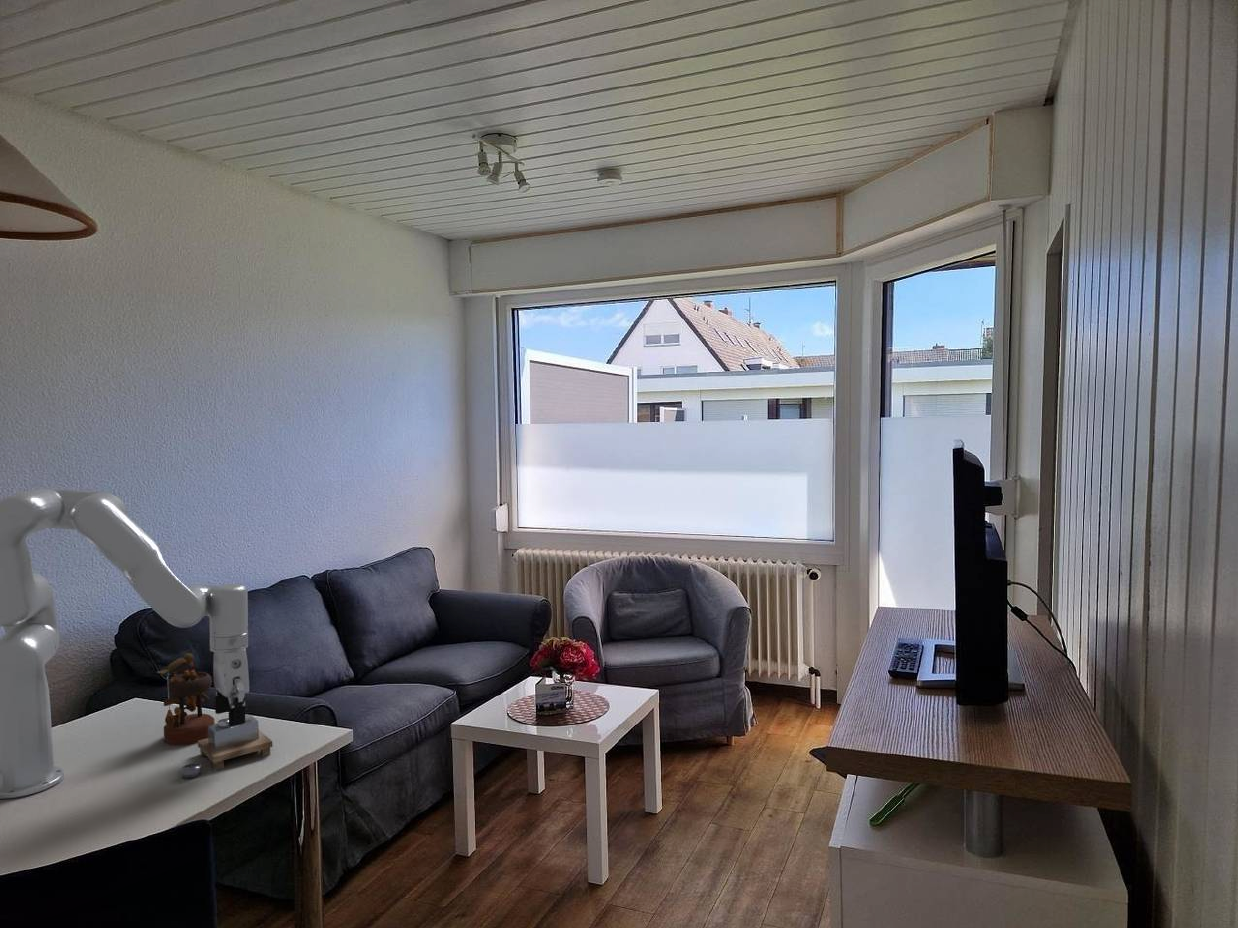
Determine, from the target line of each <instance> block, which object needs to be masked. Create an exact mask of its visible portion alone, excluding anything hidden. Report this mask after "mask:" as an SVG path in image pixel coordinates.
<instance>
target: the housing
mask: <svg viewBox="0 0 1238 928" xmlns="http://www.w3.org/2000/svg"><path fill="white" fill-rule="evenodd" d="M259 726H260V725H259V720H258V719H256V718H255V717H254V716H253V715H251V714H248V713H247V714H245V723H244V724H241V725H236V726H232V727H230V726H229V717H227V718H222V719H220V720H218V721H217V723H214V724H213V725H209V726H208V744H209V745H210V746H211V747H212V748H213V749H214V750H219V749H223V748H226V747H230V746H234V745H237V744H241V743H245V742H249V741H252V740H256V739H259V731H260V728H259Z"/></svg>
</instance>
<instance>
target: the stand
mask: <svg viewBox="0 0 1238 928" xmlns="http://www.w3.org/2000/svg"><path fill="white" fill-rule="evenodd" d="M197 747H198V749H199V750H200V755H201V756H202V757H207V758H208V759H209V761H211V763H212V768H213V770H215V771H217V770H220V769H224V767H225V766H224V761H226V760H229V759H233V758H236V757H240V756H243V755H247V754H251V753H255V752H258V751H259V753H260V756H262V757H266V756H271V748H272V747H273V740H272V739H270V738H269V737H268V736H266V735H265V733H263V732H262V731H261V730H259V739H256V740H252V741H249V742H245V743H241V744H237V745H234V746H230V747H226V748H223V749H219V750H214V749H213V748H212V747H211V746H210V745H209V744H208V738H207V739H203V740H199V741H198V742H197Z"/></svg>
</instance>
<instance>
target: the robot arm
mask: <svg viewBox="0 0 1238 928" xmlns="http://www.w3.org/2000/svg"><path fill="white" fill-rule="evenodd" d="M46 529H57V530H58V529H59V530H73V531H74V530H76V531H77V533H78V534H79V535H81V536H82V537H83V538H84V539H85V540H86V541H87V542H88V543H89V544H91V546H92V547H94V548H95V549H96V550H97V551H98V552H100V554H102V555H103V556H104V558H106V559H107V560H108V561H109V562H110V563H112V564H113V566H115V567H116V568H117V569H118V570H119V571H120V572H121V573H122V574H123V576H124V579H126V581H127V582H128V583H129V585H130V586H131V587H132V588H133V590H134V592H135V593H137V595H138V596H139V597H140V598H141V600H142V601H143V602H144V603H146V604H147V605H148V606H149V607H150V608H151V609H152V610H153V611H154V612H155V613H157V614H158V615H159V616H160V617H161V618H162V619H163V620H165V621H166V622H167V623H168V624H170V625H172V626H174V627H177V628H181V629H185V628H191V627H193V626H195V625H196V624H198V623H199V622H200V621H201V620H202V619H203V618H204V617H206V616H208V617H209V651H210V652H212V653H213V663H212V664H213V666H212V670H213V671H212V673H213V675H212V676H213V679H212V680H213V686H214V688H215V690H214V707H215V708H214V710H215V712H214V713H215V714H216V715H221V714H225V713H228V718H229V726H230V727H232V726H236V725H241V724H244V723H245V715H246V697H245V695H247V694H249V692H250V678H249V665H248V663H249V662H248V656H247V650H246V649H247V648H248V647H249V618H248V617H249V615H248V614H249V612H248V611H249V610H248V609H249V608H248V607H249V603H248V601H249V600H248V598H249V595H248V589H247V587H246V586H245V585H243V584H241V583H240V584H239V583H225V584H218V585H216V584H215V585H212V584H200V583H190V584H189V583H188V584H184V583H183V582H182V581H181V580H180V579H179V578H178V577H177V576H176V575H175V574H174V573H173V572H172V570H171V569H170V568H169V567H168V565H167V564H166V561H165V559H164V557H163V555H162V551H161V549H160V547H159V545H158V543H157V542H156V541H155V540H154V539H153V538H152V537H151V536H150V535H148V533H146V532H145V531H144V530H143V529H142V528H141V526H139V525H138V524H137V523H136V522H135V521H134V520H132V519H131V518H130V517H129V516H128V515H127V508H126V505H125V503H124V501H123V500H122V499H121V498H120V497H118V496H117V495H116V494H112V493H109V492H100V491H99V492H97V491H85V490H71V489H70V490H69V489H61V488H59V489H58V488H45V487H44V488H43V487H42V488H41V487H40V488H33V489H29V490H24V491H18V492H15V493H13V494H10V495H7V496H5V497H3V498H2V499H0V627H1V628H2V627H3V629H4V635H2V636H1V637H0V799H5V800H6V799H13V798H20V797H25V796H29V795H33V794H37V793H39V792H42V791H45V790H47V789H49V788H52V787H53V786H55V785H57V784H59V783H60V782H61V781H62V780H63V779H64V769H63V768H61V767H58V766H55V765H54V762H55V761H54V747H53V746H54V744H53V728H52V714H51V699H50V698H51V697H50V688H49V682H48V679H47V673H46V667H45V666H46V664H47V663H48V662H49V661H50V660H51V659H53V657H54V656H55V654H57V651H58V649H59V647H60V642H61V641H60V638H61V637H60V629H59V623H58V615H57V609H56V608H57V607H56V601H55V596H54V591H53V587H52V586H51V584H50V582H49V581H48V580H47V578H45V577H44V576H42V575H41V574H39V573H37V572H33V568H32V561H31V554H30V551H29V548H28V545H27V538H28V536H30V535H32V534H35V533H36V532H40V531H43V530H46Z"/></svg>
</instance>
